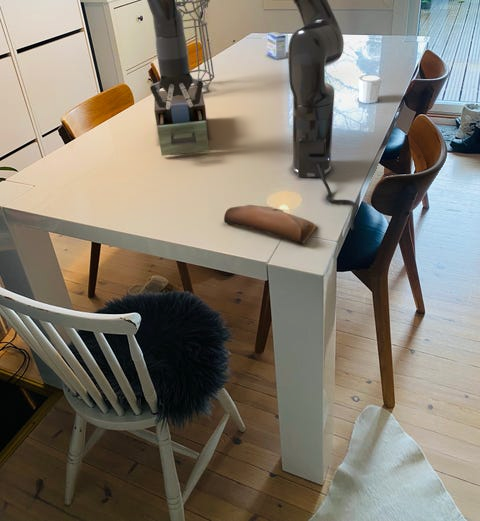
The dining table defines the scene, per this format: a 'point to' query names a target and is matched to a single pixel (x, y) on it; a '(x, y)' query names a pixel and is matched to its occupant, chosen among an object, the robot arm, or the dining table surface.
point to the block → (180, 113)
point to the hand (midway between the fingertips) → (181, 120)
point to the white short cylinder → (369, 88)
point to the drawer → (182, 135)
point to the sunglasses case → (270, 221)
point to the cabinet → (180, 99)
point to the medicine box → (276, 45)
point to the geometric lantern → (200, 37)
